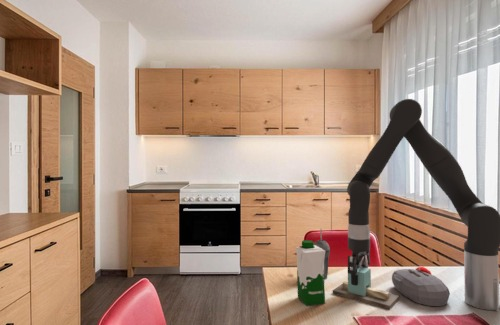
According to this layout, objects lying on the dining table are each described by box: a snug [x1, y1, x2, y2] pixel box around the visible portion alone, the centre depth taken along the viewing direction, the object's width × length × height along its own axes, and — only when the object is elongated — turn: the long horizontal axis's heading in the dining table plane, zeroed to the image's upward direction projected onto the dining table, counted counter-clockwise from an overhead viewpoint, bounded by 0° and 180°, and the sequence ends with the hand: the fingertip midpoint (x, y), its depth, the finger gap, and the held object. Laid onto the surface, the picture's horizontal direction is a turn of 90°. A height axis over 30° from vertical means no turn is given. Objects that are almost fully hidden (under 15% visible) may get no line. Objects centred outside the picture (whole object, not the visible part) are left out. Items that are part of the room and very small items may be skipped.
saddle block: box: [347, 267, 372, 296], centre depth 116 cm, size 6×6×8 cm
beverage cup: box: [313, 228, 331, 281], centre depth 133 cm, size 7×7×20 cm
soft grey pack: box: [391, 268, 451, 307], centre depth 114 cm, size 15×8×20 cm
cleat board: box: [332, 281, 400, 310], centre depth 114 cm, size 20×10×3 cm, turn 49°
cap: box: [414, 266, 433, 275], centre depth 128 cm, size 8×6×6 cm
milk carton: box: [295, 239, 326, 307], centre depth 112 cm, size 9×9×20 cm
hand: (359, 281), depth 116 cm, fingers open, 8 cm apart
